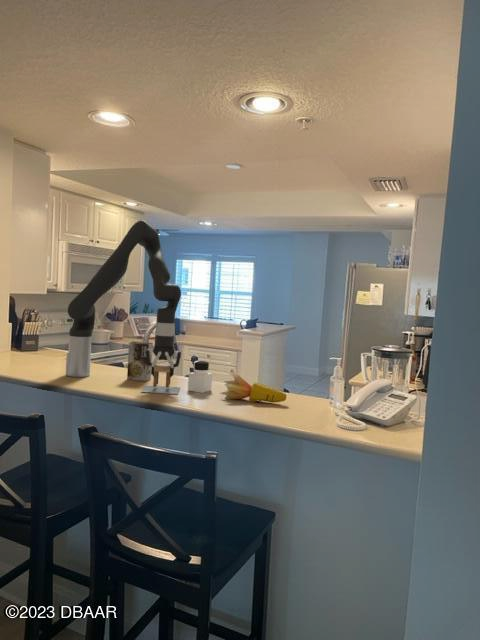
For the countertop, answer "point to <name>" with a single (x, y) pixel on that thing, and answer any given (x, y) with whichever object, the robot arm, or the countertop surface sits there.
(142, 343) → the coffee box
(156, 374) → the stool
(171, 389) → the mat
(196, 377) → the medicine bottle
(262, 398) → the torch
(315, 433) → the countertop surface
